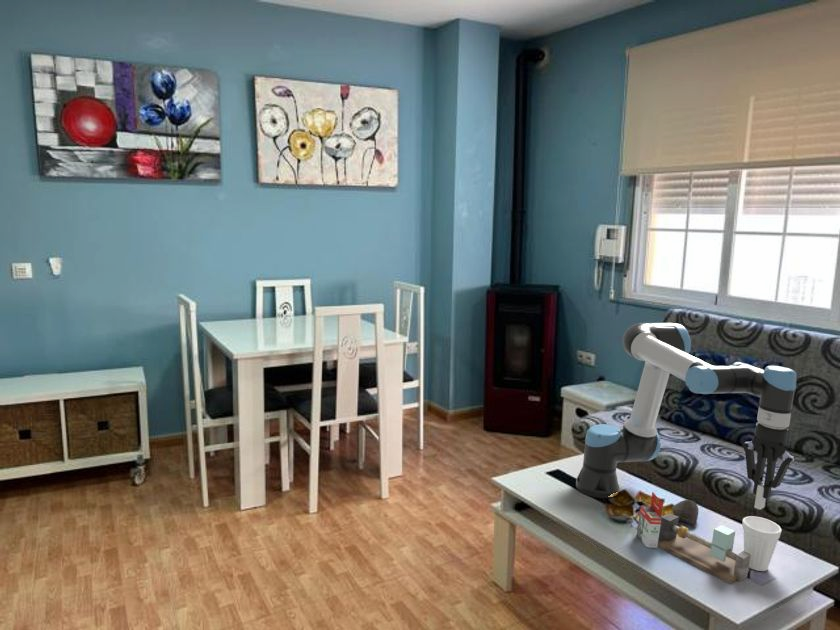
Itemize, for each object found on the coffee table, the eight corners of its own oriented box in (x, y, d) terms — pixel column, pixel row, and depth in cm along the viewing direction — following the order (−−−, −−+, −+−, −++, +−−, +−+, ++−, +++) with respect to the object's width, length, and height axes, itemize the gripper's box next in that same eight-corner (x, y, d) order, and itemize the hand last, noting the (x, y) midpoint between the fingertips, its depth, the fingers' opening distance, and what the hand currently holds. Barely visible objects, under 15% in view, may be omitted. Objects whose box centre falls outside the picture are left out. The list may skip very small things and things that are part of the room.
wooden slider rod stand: (652, 543, 187) (655, 519, 186) (672, 533, 194) (675, 510, 192) (733, 585, 167) (738, 558, 166) (752, 573, 174) (757, 547, 173)
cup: (730, 555, 183) (736, 514, 181) (763, 557, 183) (770, 517, 180) (746, 574, 173) (753, 532, 171) (782, 577, 173) (789, 534, 171)
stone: (675, 536, 200) (702, 524, 195) (660, 512, 203) (686, 499, 198) (683, 530, 207) (710, 517, 203) (669, 506, 211) (694, 493, 206)
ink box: (646, 548, 184) (651, 503, 182) (636, 534, 192) (641, 490, 190) (658, 548, 184) (664, 503, 182) (647, 534, 192) (653, 491, 190)
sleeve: (709, 555, 176) (713, 528, 174) (717, 551, 179) (721, 524, 177) (723, 562, 173) (727, 535, 171) (731, 557, 175) (735, 530, 174)
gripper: (740, 419, 165) (728, 501, 169) (792, 435, 155) (778, 521, 159) (753, 415, 170) (741, 494, 173) (805, 430, 159) (791, 514, 163)
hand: (759, 507), depth 166 cm, fingers closed
